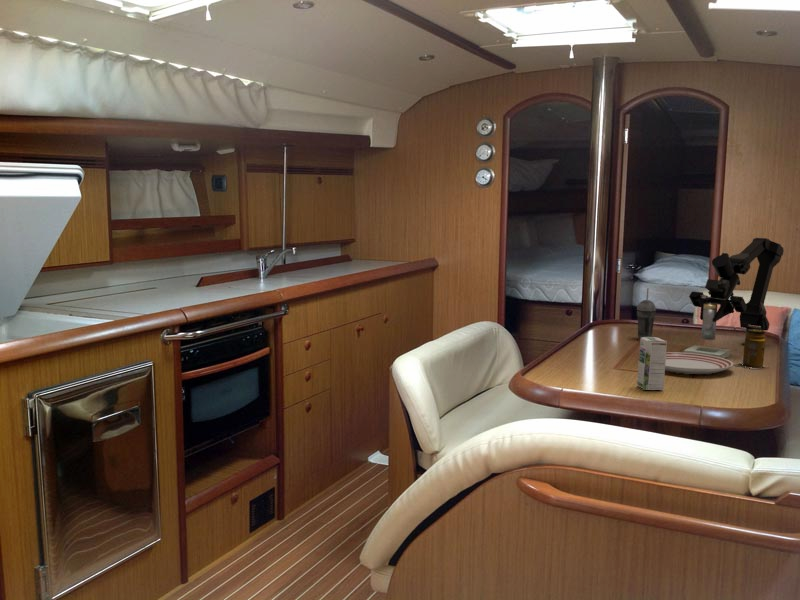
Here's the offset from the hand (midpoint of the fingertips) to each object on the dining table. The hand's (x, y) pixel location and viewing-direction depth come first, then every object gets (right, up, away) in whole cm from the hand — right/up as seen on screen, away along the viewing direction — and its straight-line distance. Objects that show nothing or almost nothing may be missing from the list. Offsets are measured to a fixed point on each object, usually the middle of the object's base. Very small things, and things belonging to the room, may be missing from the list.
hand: (707, 320), depth 254 cm
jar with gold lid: (+1, -6, +2) cm, 7 cm away
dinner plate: (-14, -15, -17) cm, 27 cm away
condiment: (+9, -15, -13) cm, 22 cm away
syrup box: (-35, -18, -44) cm, 59 cm away
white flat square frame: (+1, -12, +2) cm, 13 cm away
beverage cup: (-12, -9, +29) cm, 33 cm away
